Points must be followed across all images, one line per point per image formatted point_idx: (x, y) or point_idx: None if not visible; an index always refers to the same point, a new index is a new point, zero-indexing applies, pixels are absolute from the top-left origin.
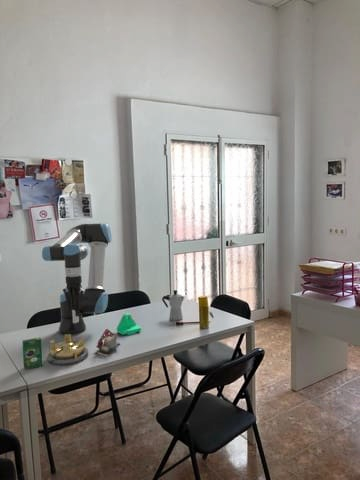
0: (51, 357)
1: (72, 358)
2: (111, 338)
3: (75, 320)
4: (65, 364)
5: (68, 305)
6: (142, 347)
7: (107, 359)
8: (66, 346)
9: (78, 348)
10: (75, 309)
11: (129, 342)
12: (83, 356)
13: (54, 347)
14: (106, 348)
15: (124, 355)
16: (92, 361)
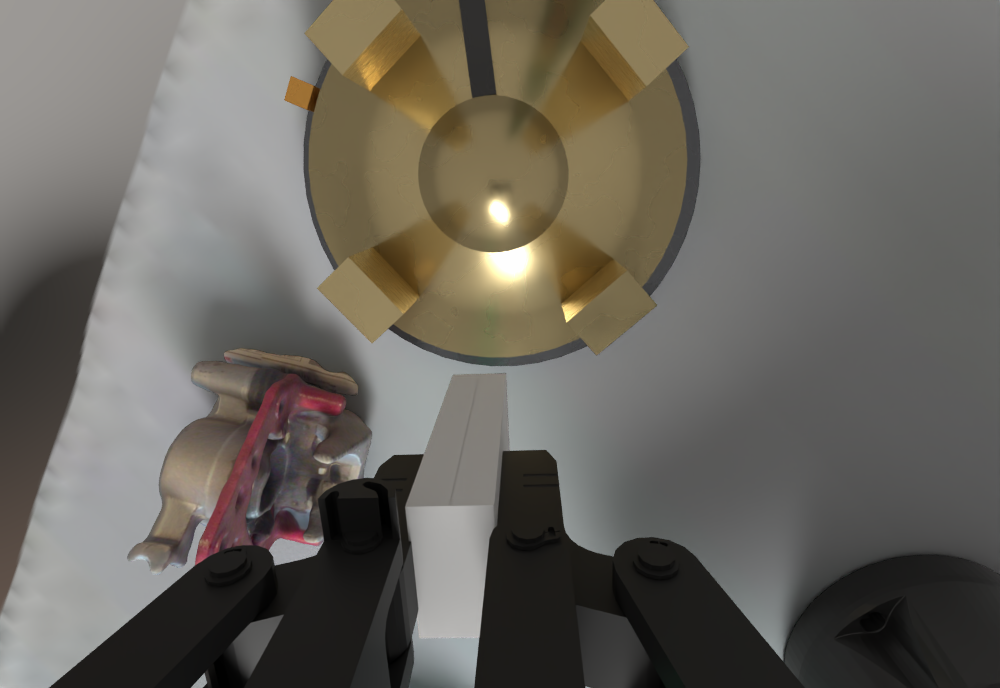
0: None
1: None
2: (171, 489)
3: (446, 401)
4: None
5: (669, 599)
6: (109, 582)
7: (159, 294)
8: (335, 4)
9: (343, 190)
10: (340, 514)
11: None
12: (307, 190)
13: (605, 69)
14: (199, 382)
15: (106, 413)
16: (234, 205)
